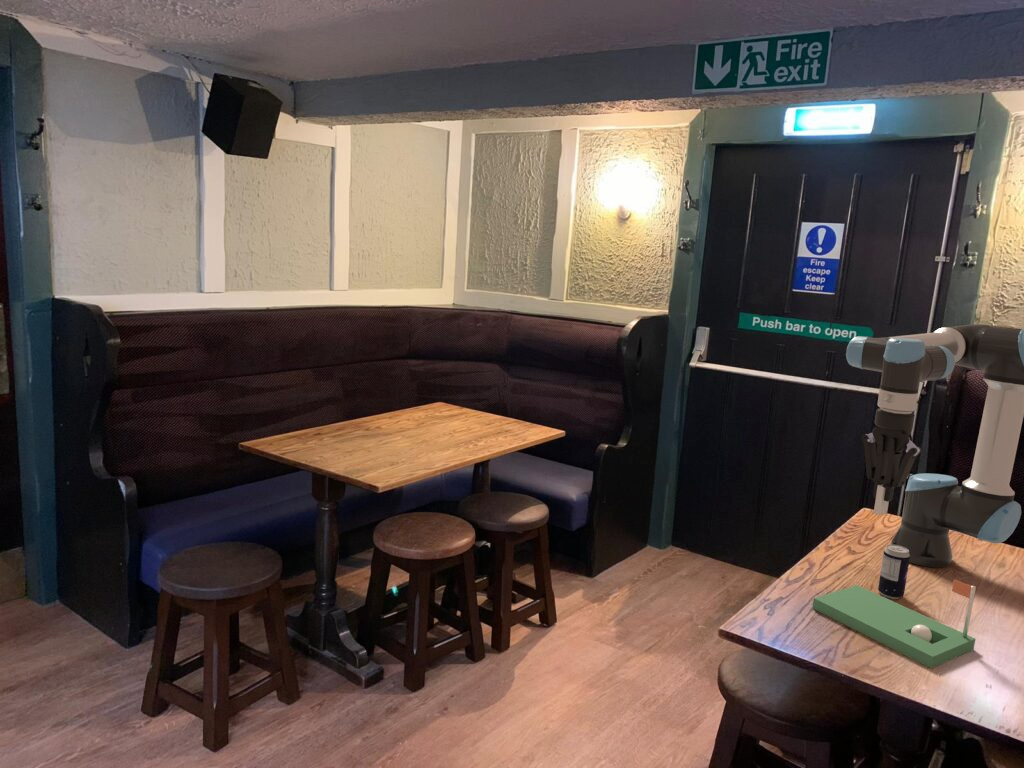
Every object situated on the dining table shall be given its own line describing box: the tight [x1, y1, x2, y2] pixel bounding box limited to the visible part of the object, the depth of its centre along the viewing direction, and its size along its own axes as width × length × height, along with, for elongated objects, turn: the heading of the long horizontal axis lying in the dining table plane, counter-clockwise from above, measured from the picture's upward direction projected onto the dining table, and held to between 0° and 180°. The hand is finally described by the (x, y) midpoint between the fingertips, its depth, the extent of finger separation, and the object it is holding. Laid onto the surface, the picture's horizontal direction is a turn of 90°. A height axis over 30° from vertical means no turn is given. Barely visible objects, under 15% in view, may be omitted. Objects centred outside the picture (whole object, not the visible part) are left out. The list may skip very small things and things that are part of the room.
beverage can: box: [877, 544, 910, 600], centre depth 187 cm, size 6×6×12 cm
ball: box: [911, 625, 932, 643], centre depth 165 cm, size 4×4×4 cm
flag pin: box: [951, 579, 977, 638], centre depth 165 cm, size 1×4×14 cm, turn 32°
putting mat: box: [812, 584, 976, 669], centre depth 171 cm, size 16×28×2 cm, turn 32°
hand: (880, 513), depth 172 cm, fingers closed
